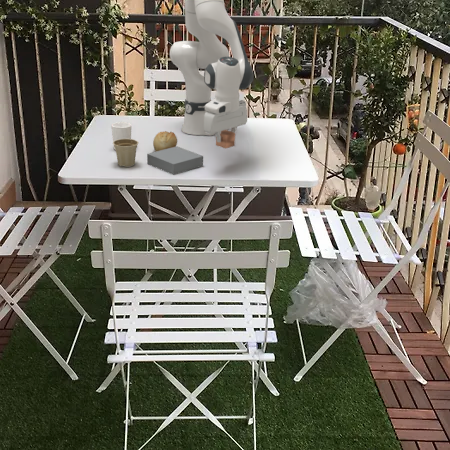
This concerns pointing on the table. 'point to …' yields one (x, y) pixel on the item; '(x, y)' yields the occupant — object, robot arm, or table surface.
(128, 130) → the white cup
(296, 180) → the table surface
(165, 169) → the plinth
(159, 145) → the bread roll
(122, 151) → the flower pot
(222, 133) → the cube
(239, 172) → the table surface
